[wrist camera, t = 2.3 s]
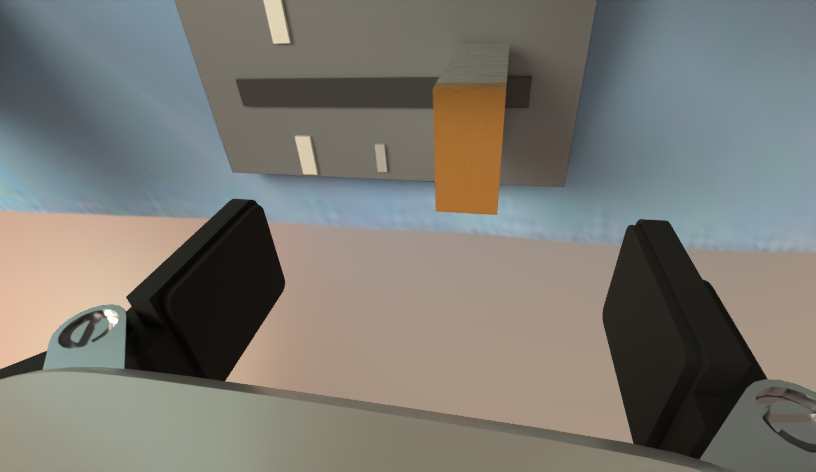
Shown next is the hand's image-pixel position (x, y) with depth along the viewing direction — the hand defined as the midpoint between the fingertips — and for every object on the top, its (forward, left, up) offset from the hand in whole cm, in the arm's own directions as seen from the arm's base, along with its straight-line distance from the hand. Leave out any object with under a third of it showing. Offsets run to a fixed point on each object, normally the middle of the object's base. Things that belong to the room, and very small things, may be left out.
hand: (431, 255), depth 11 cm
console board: (+5, +3, -16) cm, 17 cm away
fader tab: (0, 0, -14) cm, 14 cm away
